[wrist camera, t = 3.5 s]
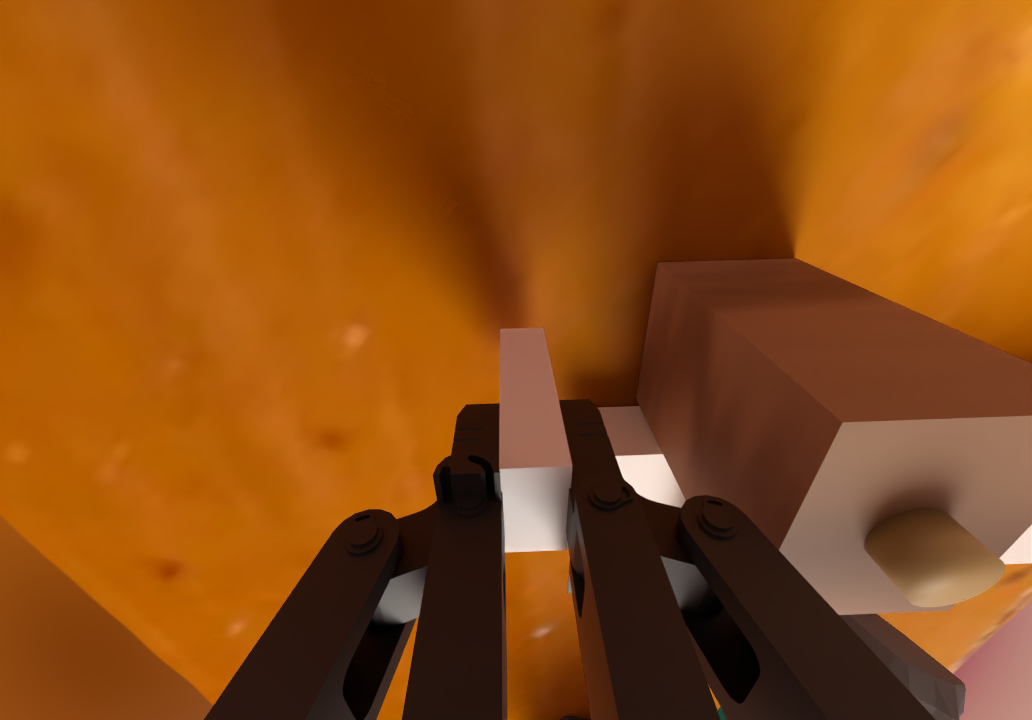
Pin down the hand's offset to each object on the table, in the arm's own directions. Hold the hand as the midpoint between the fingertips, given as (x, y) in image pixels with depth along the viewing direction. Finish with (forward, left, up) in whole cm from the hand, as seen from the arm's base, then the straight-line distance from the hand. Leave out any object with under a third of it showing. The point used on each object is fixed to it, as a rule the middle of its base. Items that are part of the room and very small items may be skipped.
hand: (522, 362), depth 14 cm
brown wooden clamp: (+5, +8, -2) cm, 9 cm away
